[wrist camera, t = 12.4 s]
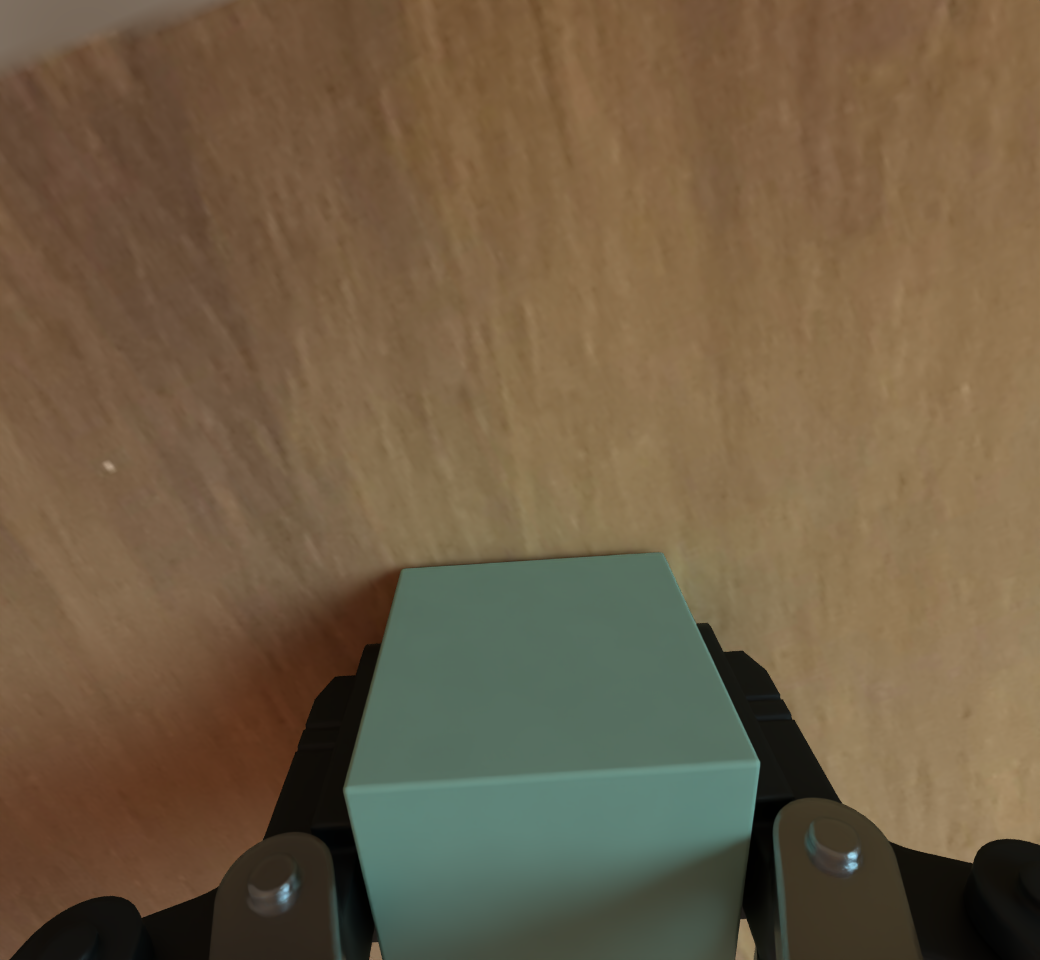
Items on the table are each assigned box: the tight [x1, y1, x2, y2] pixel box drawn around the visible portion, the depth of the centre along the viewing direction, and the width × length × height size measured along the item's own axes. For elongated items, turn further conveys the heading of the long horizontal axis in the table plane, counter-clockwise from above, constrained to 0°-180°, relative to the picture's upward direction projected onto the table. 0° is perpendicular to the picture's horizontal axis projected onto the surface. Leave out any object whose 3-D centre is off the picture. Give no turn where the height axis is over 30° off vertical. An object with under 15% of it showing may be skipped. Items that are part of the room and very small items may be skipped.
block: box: [343, 552, 760, 960], centre depth 10 cm, size 4×4×4 cm
